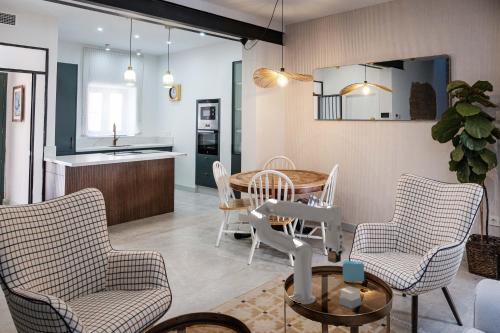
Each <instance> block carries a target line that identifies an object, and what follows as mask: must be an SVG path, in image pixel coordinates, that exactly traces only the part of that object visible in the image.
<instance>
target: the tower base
mask: <svg viewBox="0 0 500 333" xmlns="http://www.w3.org/2000/svg"><path fill="white" fill-rule="evenodd" d="M338 304H339V305H340V306H343V307H346V308H348V309H350V310H353V309H355V308H357V307H359V306H362V297H361V296H360V298H358V299H356V300H353V301H349V300H347V299H345V298H342V297H341V295H340V296H338Z"/></svg>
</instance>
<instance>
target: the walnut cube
mask: <svg viewBox="0 0 500 333" xmlns="http://www.w3.org/2000/svg"><path fill="white" fill-rule="evenodd" d="M336 255H337V253H336V250H335V249H332V251H330V252H327V262H330V263H332V264H337V263H338V262H336Z"/></svg>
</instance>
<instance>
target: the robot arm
mask: <svg viewBox="0 0 500 333" xmlns="http://www.w3.org/2000/svg"><path fill="white" fill-rule="evenodd" d="M341 212H342V209H341V206H339V205H336V204H330V205H315V206H313V205H309V204H306V203H302V202H299V201H297V202H296V201H287V200H279V199H277V198H269V199H267V200H266V201H264V202H263V203H262V204H261V205H259V206H258V207H256V208H255V209H254V210H253V211H251V212H250V213H249V215H248V217H247V221H248V224H249V225H250V226H251V227H252V228H254V229H255V231H256V236H257V238H258V240H259V241H260V242H261V243H263V244H264V245H267V246H269V247H271V248H272V249H273V248H274V249H276V250H278V251H279V252H282V253H287V254H288V255H289V254H290V255H292V256H293V257H294V262H293V286H294V287H293V289H294V290H293V292H292V294H291V295H290V296H288V297H290V298H292V299H294V300H297V301H298V302H300V303H302V304H301V305H309V304H313V303H314V302H316V297H315V295H313V280H312V279H313V275H312V274H313V273H312V272H313V271H312V269H313V268H312V263H313V256H314V252H313V248H312V246H311V245H310V244H309V243H308V242H306V241H304V240H302V239H300V238H298V237H295V236H294V235H290V234H288V233H286V232H285V231H280V230H279V231H278V230H275V229H273V228H272V226H271V225H272V223H271V220H270V217H271V216H274V217H278V218H288V219H296V220H297V219H298V220H303V221H311V222H318V223H326V231H325V238H324V243H323V246H324V248H325V250H326V253H328V252H330V251H333V250H335V251H336V253H337V255H336V262H337V263H340V262H342V255H343V253H344V252H345V251H346V248H345V239H344V238H345V237H344V233H343V227H342V218H341V217H342V213H341Z"/></svg>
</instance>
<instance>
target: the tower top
mask: <svg viewBox="0 0 500 333" xmlns="http://www.w3.org/2000/svg"><path fill="white" fill-rule="evenodd" d="M339 293H340V296H341V297H342V298H345V299H347V300H349V301H353V300H356V299H358V298H360V297H361V290H360V289H359V288H356V287H353V286H351V285H349V286H346V287H344V288H341V289H340V292H339Z"/></svg>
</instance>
